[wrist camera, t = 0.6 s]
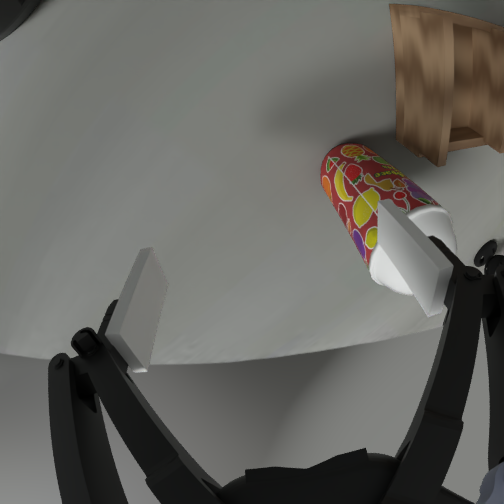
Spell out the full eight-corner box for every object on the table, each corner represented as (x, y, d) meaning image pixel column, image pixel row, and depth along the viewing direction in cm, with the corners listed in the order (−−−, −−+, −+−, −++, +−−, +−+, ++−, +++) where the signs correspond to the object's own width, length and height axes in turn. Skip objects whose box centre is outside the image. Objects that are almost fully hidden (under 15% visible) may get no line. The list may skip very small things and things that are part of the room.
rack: (389, 3, 18) (442, 9, 13) (512, 31, 18) (552, 47, 13) (395, 139, 29) (436, 172, 24) (505, 124, 29) (539, 148, 24)
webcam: (472, 269, 55) (494, 300, 48) (473, 252, 50) (498, 286, 43) (493, 251, 53) (516, 281, 46) (496, 233, 48) (522, 265, 41)
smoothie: (387, 150, 30) (508, 276, 16) (350, 205, 35) (440, 344, 21) (334, 118, 27) (479, 257, 12) (294, 184, 31) (385, 349, 17)
